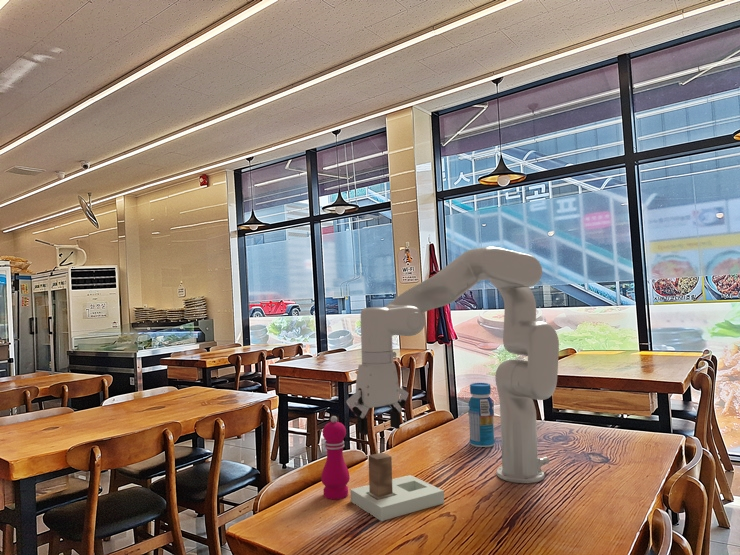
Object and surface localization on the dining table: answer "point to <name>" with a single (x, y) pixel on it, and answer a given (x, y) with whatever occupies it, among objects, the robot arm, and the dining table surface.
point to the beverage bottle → (481, 415)
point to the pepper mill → (335, 461)
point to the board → (399, 498)
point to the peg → (380, 476)
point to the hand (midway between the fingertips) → (379, 430)
